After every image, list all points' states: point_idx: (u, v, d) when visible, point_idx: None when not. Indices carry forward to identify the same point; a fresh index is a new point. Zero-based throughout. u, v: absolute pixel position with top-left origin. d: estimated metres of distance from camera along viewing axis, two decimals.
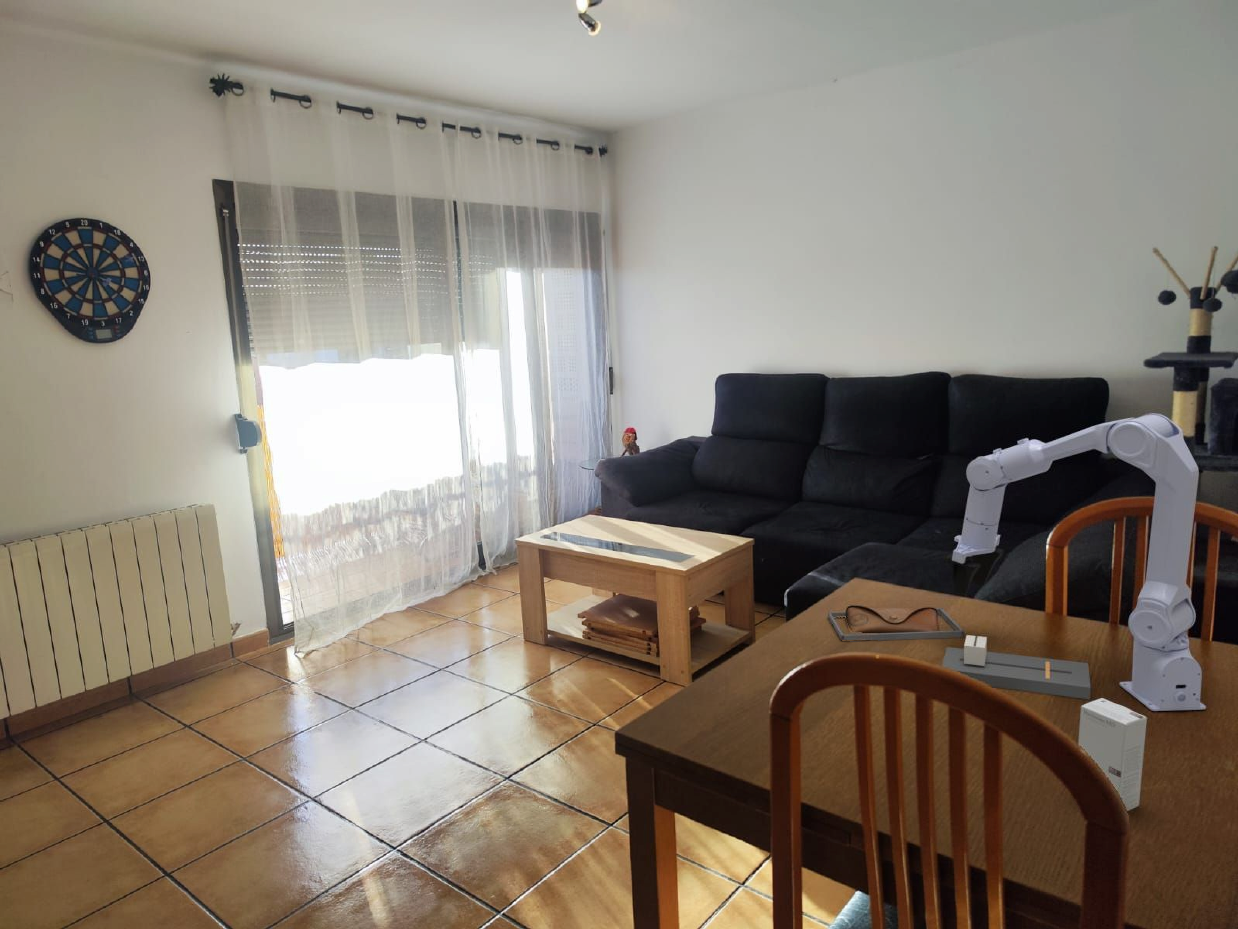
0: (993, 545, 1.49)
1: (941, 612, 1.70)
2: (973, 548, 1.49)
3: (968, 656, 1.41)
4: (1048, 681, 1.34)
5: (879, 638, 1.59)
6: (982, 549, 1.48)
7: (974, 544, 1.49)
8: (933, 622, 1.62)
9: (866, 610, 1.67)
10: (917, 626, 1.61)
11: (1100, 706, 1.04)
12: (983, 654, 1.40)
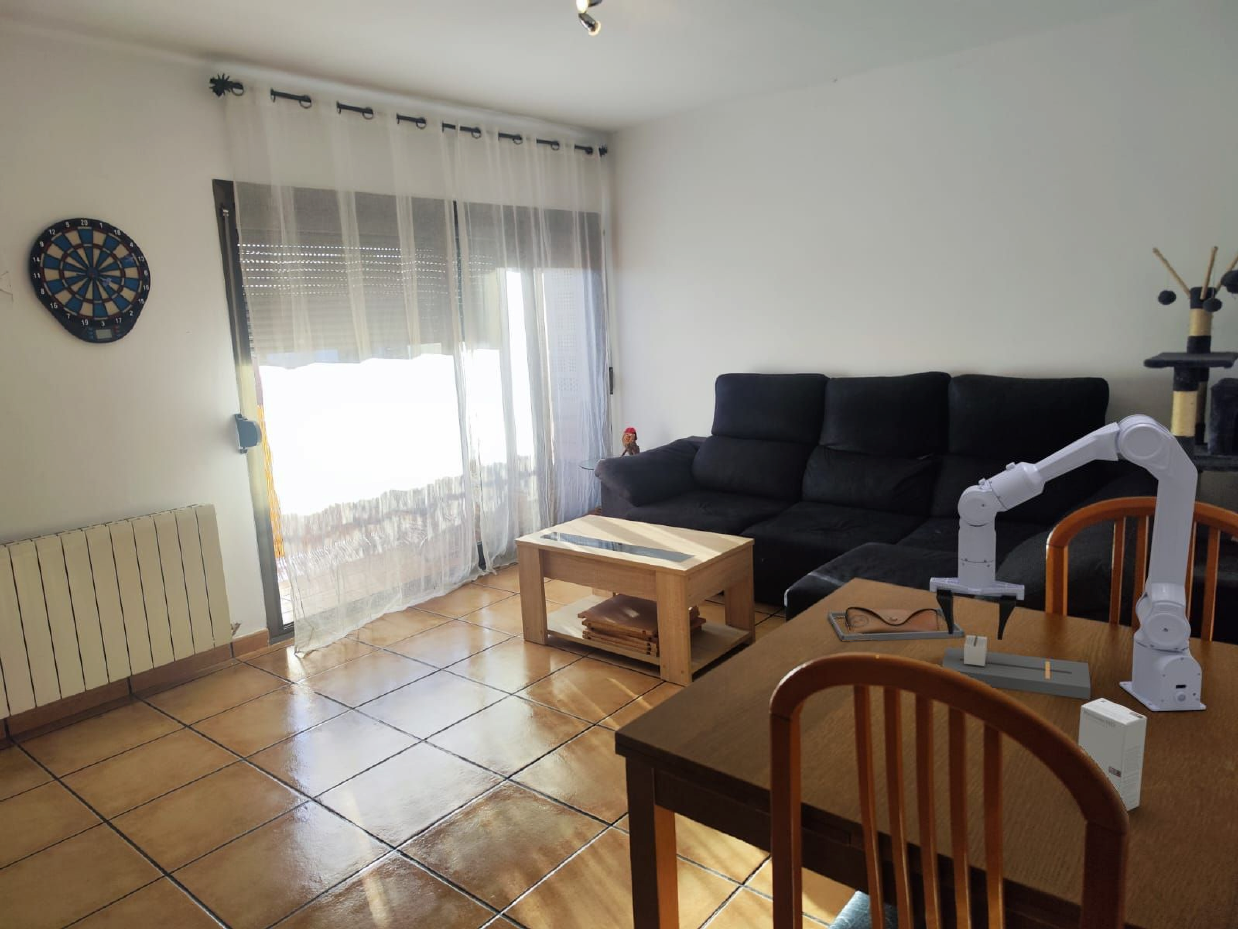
0: None
1: (941, 612, 1.70)
2: None
3: (968, 656, 1.41)
4: (1048, 681, 1.34)
5: (879, 638, 1.59)
6: None
7: None
8: (933, 623, 1.62)
9: (866, 611, 1.66)
10: (917, 627, 1.60)
11: (1100, 706, 1.04)
12: (983, 654, 1.40)
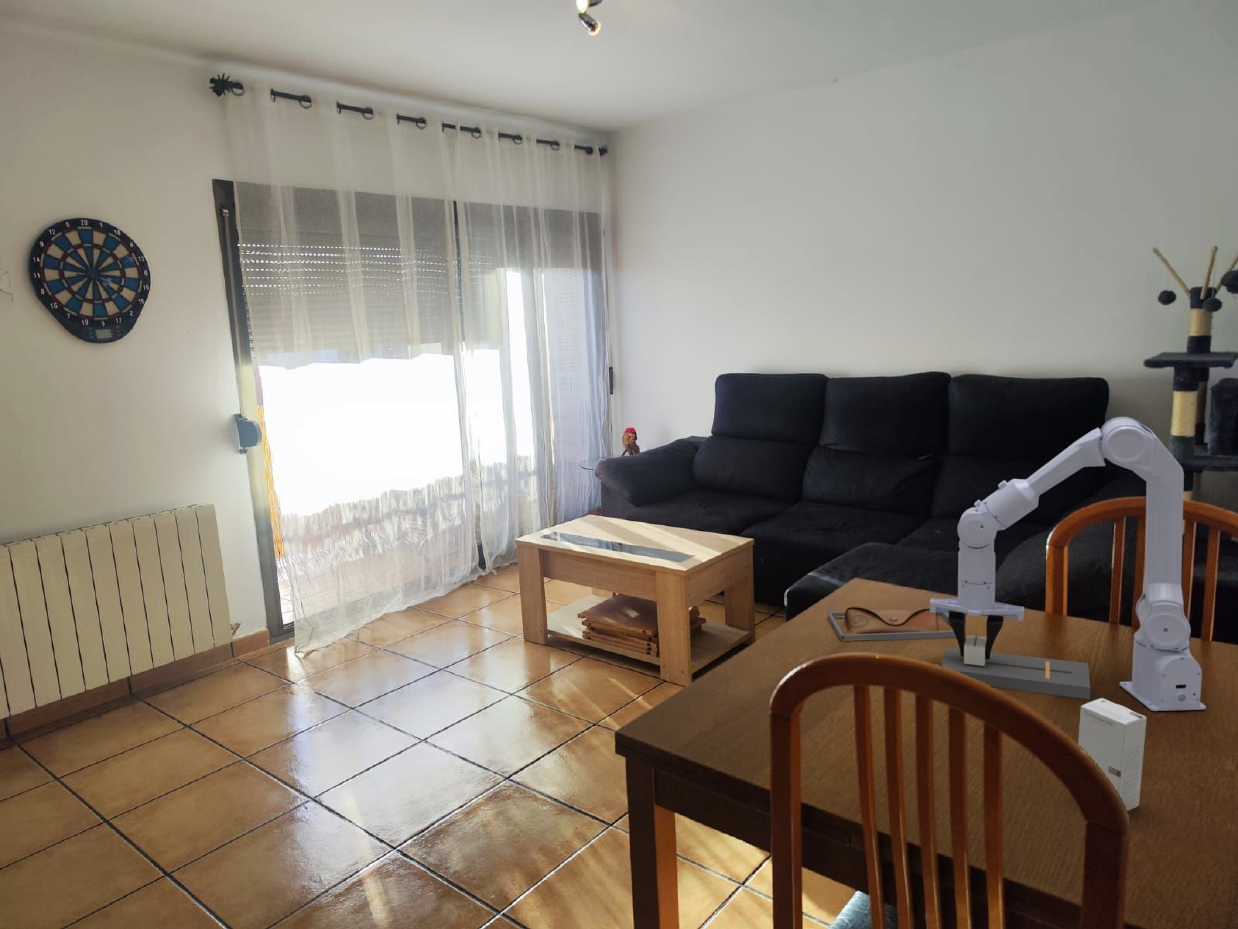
0: None
1: (941, 612, 1.70)
2: None
3: (968, 656, 1.41)
4: (1048, 681, 1.34)
5: (879, 638, 1.59)
6: None
7: None
8: (933, 623, 1.61)
9: (866, 612, 1.66)
10: (917, 628, 1.60)
11: (1100, 706, 1.04)
12: (983, 654, 1.40)
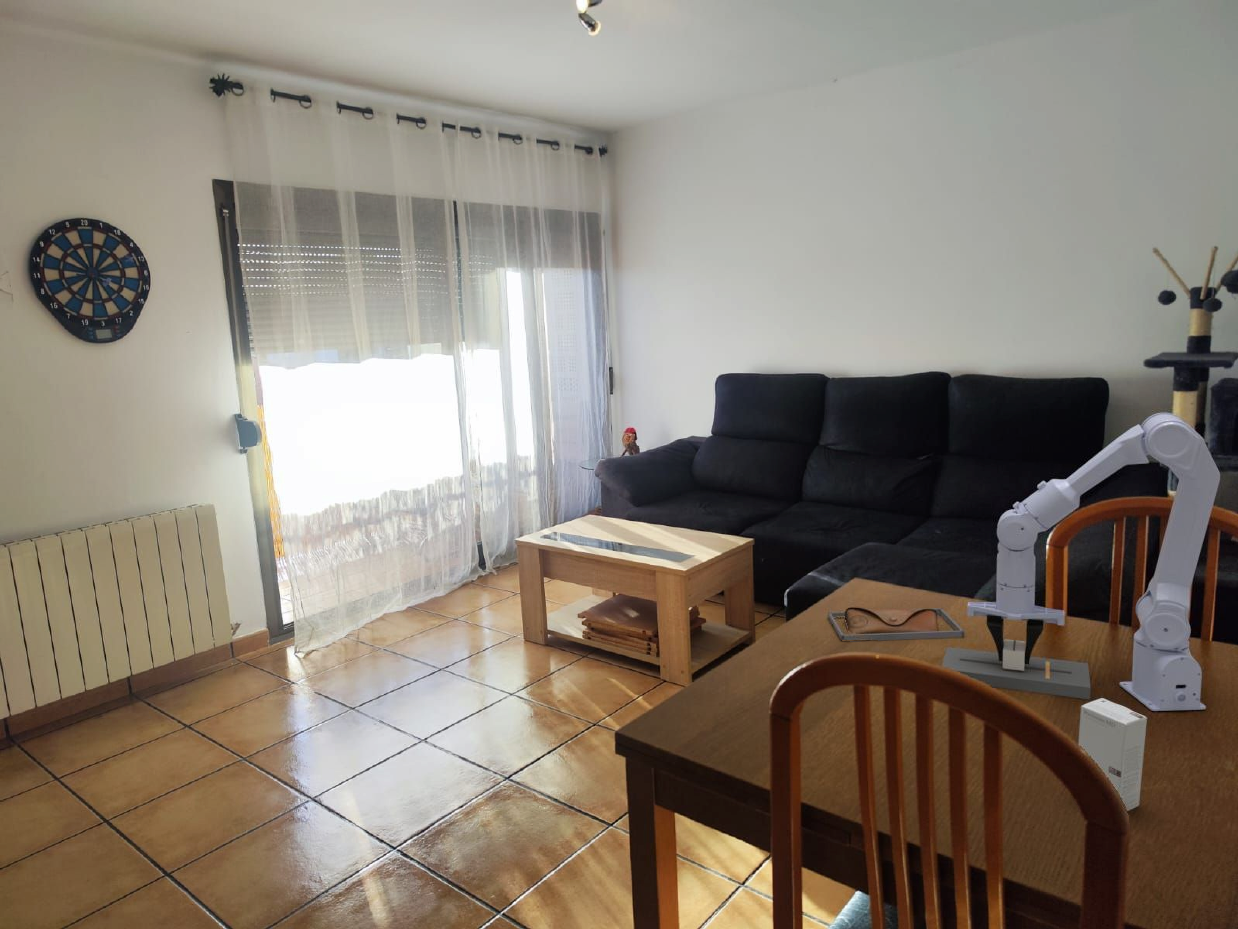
0: None
1: (941, 612, 1.70)
2: None
3: (1007, 661, 1.38)
4: (1048, 681, 1.34)
5: (879, 638, 1.59)
6: None
7: None
8: (932, 624, 1.61)
9: (865, 612, 1.66)
10: (916, 628, 1.60)
11: (1100, 706, 1.04)
12: (1023, 659, 1.37)
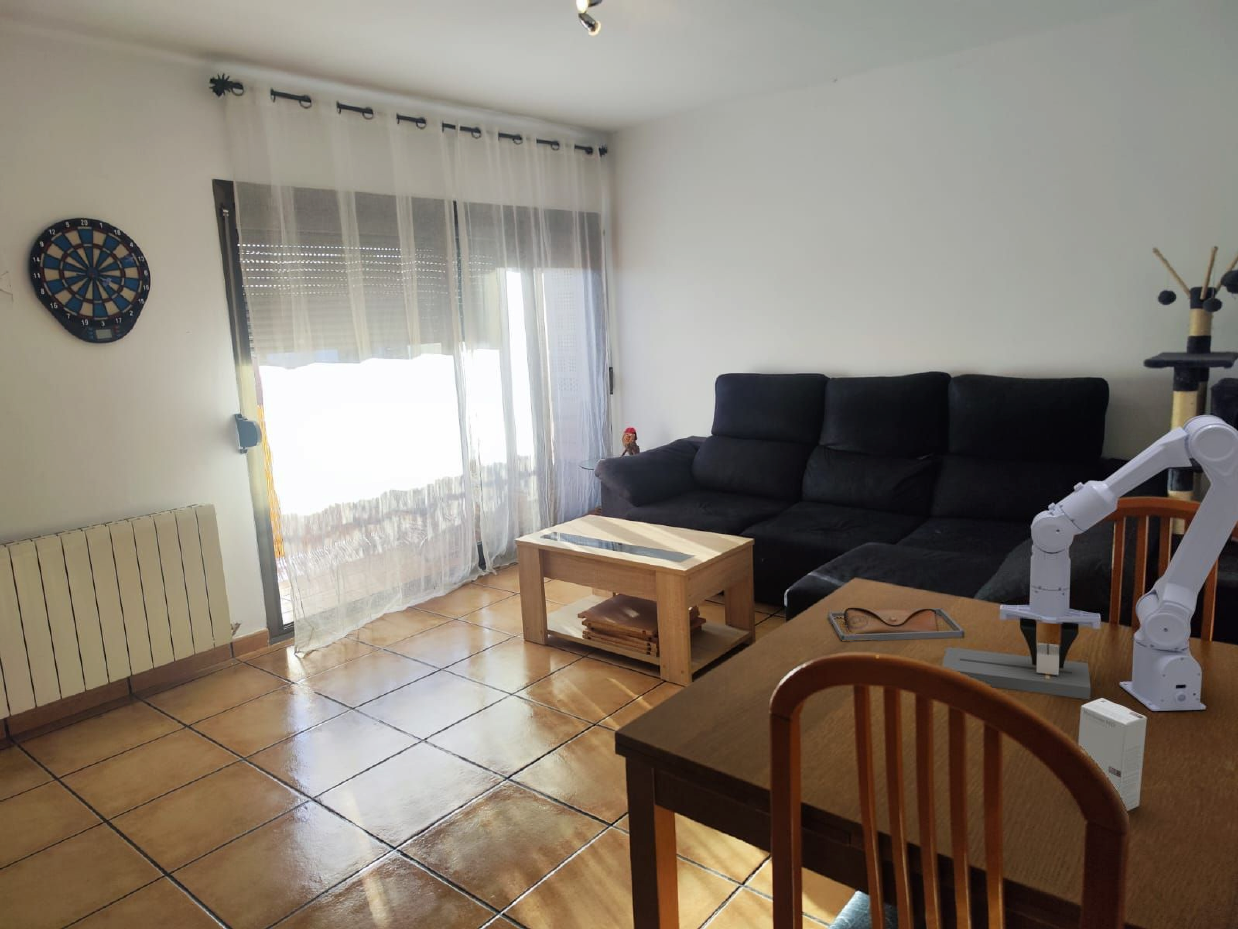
0: None
1: (941, 612, 1.70)
2: (1069, 612, 1.35)
3: (1041, 665, 1.36)
4: (1048, 681, 1.34)
5: (879, 638, 1.59)
6: None
7: None
8: (932, 624, 1.61)
9: (865, 612, 1.66)
10: (916, 628, 1.60)
11: (1100, 706, 1.04)
12: (1057, 663, 1.35)
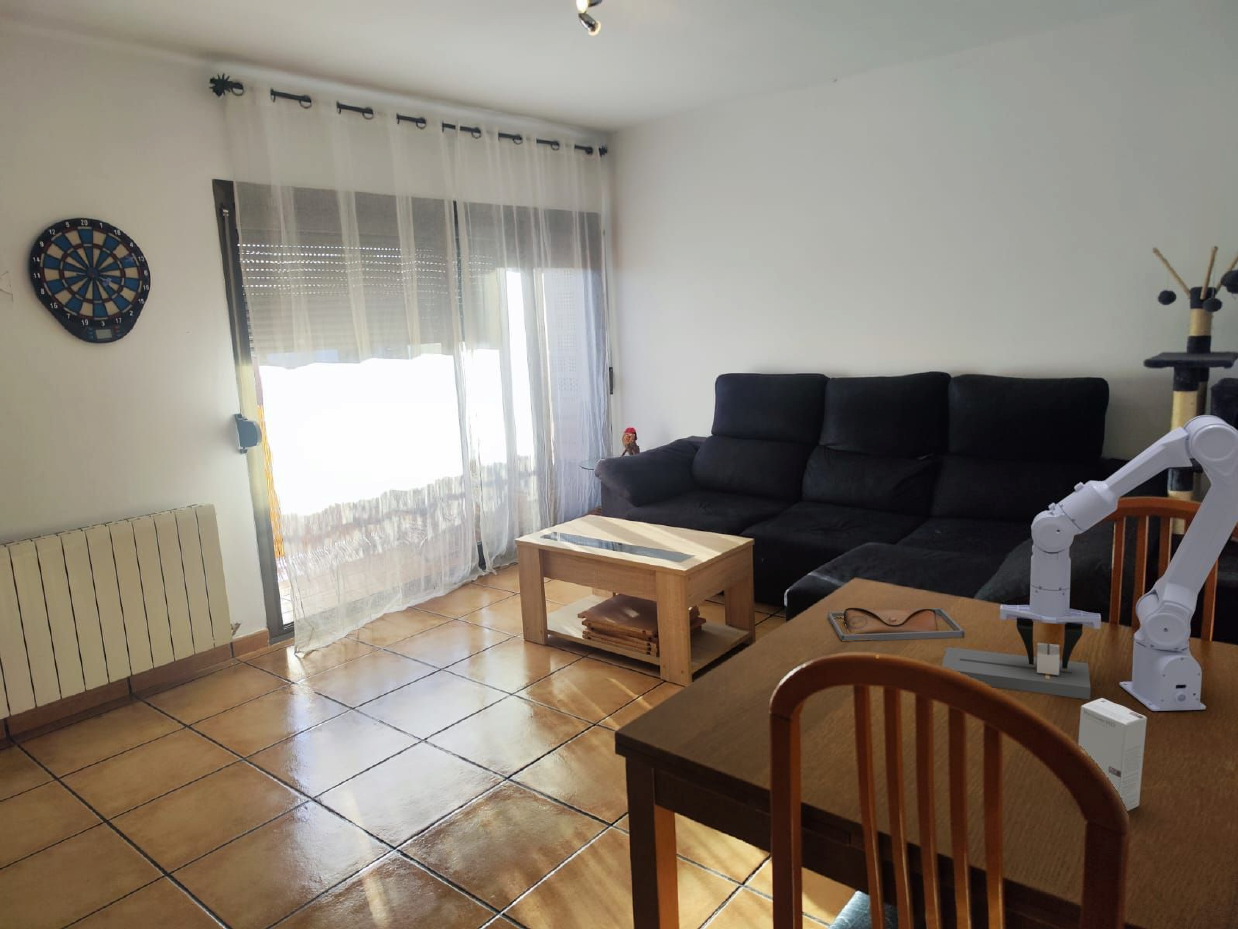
0: None
1: (941, 612, 1.70)
2: None
3: (1042, 665, 1.36)
4: (1048, 681, 1.34)
5: (879, 638, 1.59)
6: None
7: None
8: (932, 624, 1.62)
9: (865, 612, 1.66)
10: (916, 628, 1.60)
11: (1100, 706, 1.04)
12: (1058, 663, 1.35)
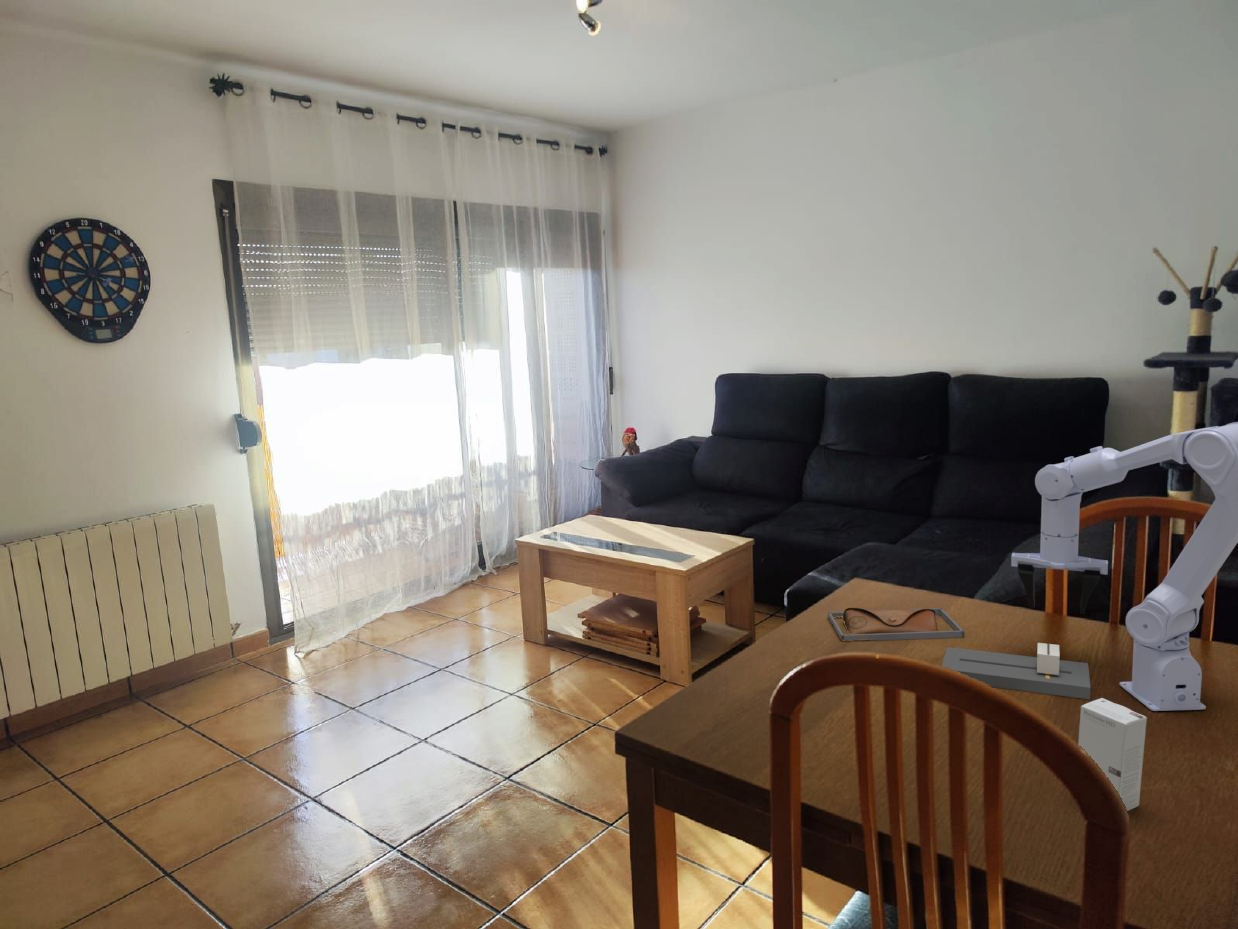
0: None
1: (941, 612, 1.70)
2: None
3: (1042, 665, 1.36)
4: (1048, 681, 1.34)
5: (879, 638, 1.59)
6: None
7: None
8: (932, 624, 1.61)
9: (864, 612, 1.66)
10: (916, 628, 1.60)
11: (1100, 705, 1.04)
12: (1058, 663, 1.35)
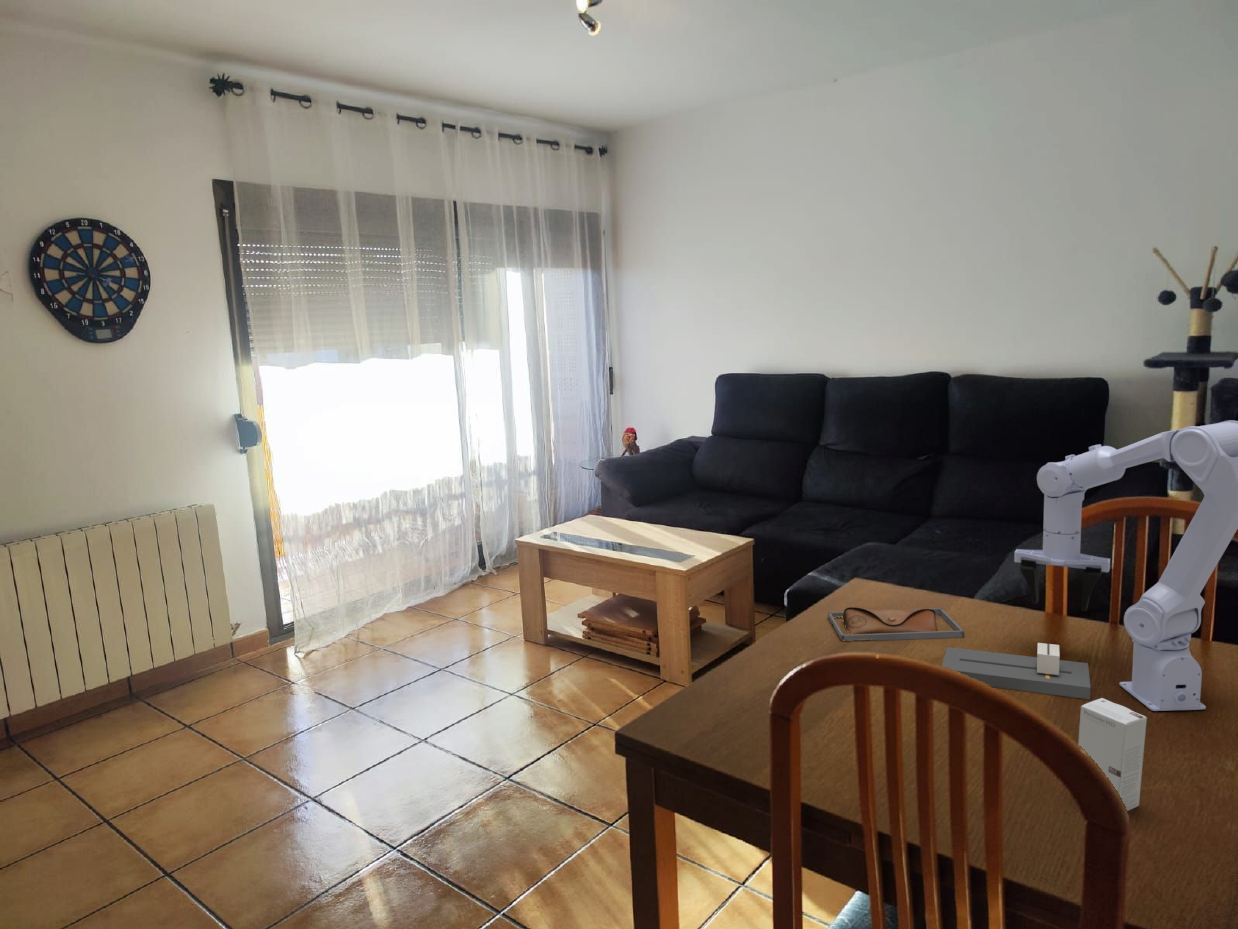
0: None
1: (941, 612, 1.70)
2: (1081, 557, 1.43)
3: (1042, 665, 1.36)
4: (1048, 681, 1.34)
5: (879, 638, 1.59)
6: None
7: None
8: (931, 624, 1.61)
9: (864, 612, 1.66)
10: (915, 628, 1.60)
11: (1100, 705, 1.04)
12: (1058, 663, 1.35)
